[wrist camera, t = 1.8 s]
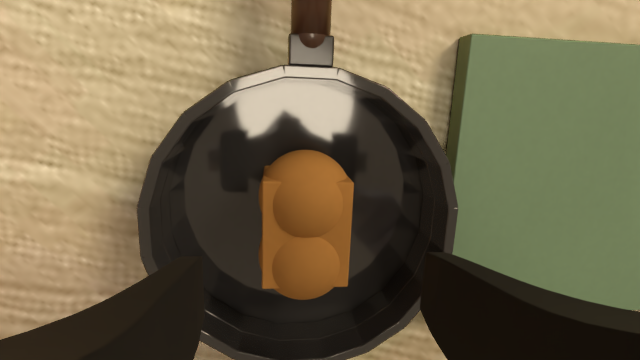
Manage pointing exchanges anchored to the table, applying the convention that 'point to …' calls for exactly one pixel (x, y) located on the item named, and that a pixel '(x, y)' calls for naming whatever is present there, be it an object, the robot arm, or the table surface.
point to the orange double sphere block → (305, 225)
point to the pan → (246, 217)
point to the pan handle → (311, 34)
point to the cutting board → (549, 163)
